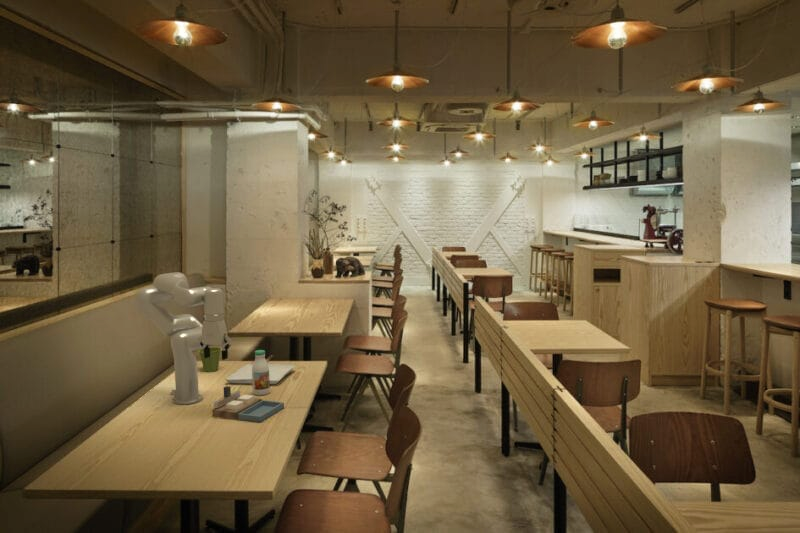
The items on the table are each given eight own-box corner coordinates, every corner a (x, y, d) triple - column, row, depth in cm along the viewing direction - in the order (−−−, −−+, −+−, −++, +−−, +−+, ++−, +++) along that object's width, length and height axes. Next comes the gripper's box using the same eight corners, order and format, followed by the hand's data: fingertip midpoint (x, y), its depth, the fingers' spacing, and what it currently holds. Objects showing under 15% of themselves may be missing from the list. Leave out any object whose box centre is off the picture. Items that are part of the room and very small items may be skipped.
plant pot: (217, 366, 325) (216, 345, 324) (226, 370, 316) (225, 349, 315) (195, 370, 317) (194, 349, 316) (204, 374, 308) (203, 353, 307)
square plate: (246, 370, 316) (246, 363, 316) (296, 371, 313) (296, 364, 312) (224, 385, 290) (224, 378, 289) (278, 387, 286) (278, 379, 285)
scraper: (213, 407, 246) (213, 392, 246) (236, 396, 261) (236, 381, 260) (217, 408, 245) (217, 392, 245) (240, 396, 260) (240, 381, 260)
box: (237, 419, 241) (237, 413, 241) (262, 405, 258) (262, 400, 258) (260, 422, 238) (260, 416, 238) (284, 408, 255) (284, 402, 254)
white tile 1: (226, 408, 246) (226, 404, 246) (233, 405, 251) (233, 400, 250) (236, 410, 244) (236, 405, 244) (243, 406, 249) (243, 401, 249)
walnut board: (212, 416, 246) (212, 409, 245) (238, 402, 262) (238, 396, 262) (237, 419, 241) (236, 412, 241) (262, 405, 258) (261, 398, 258)
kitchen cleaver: (260, 355, 345) (277, 354, 344) (260, 357, 345) (277, 356, 344) (246, 367, 320) (264, 366, 320) (246, 369, 321) (264, 368, 320)
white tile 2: (237, 402, 253) (237, 398, 253) (244, 399, 258) (244, 394, 258) (247, 403, 252) (247, 399, 251) (254, 400, 256) (254, 395, 256)
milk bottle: (249, 394, 274) (247, 352, 272) (259, 390, 281) (257, 348, 279) (263, 396, 271) (261, 353, 269) (273, 391, 278) (271, 349, 276)
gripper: (191, 318, 251) (193, 358, 253) (226, 320, 245) (227, 362, 247) (202, 315, 258) (204, 354, 260) (236, 317, 252) (238, 357, 254)
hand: (216, 358), depth 253 cm, fingers open, 8 cm apart
